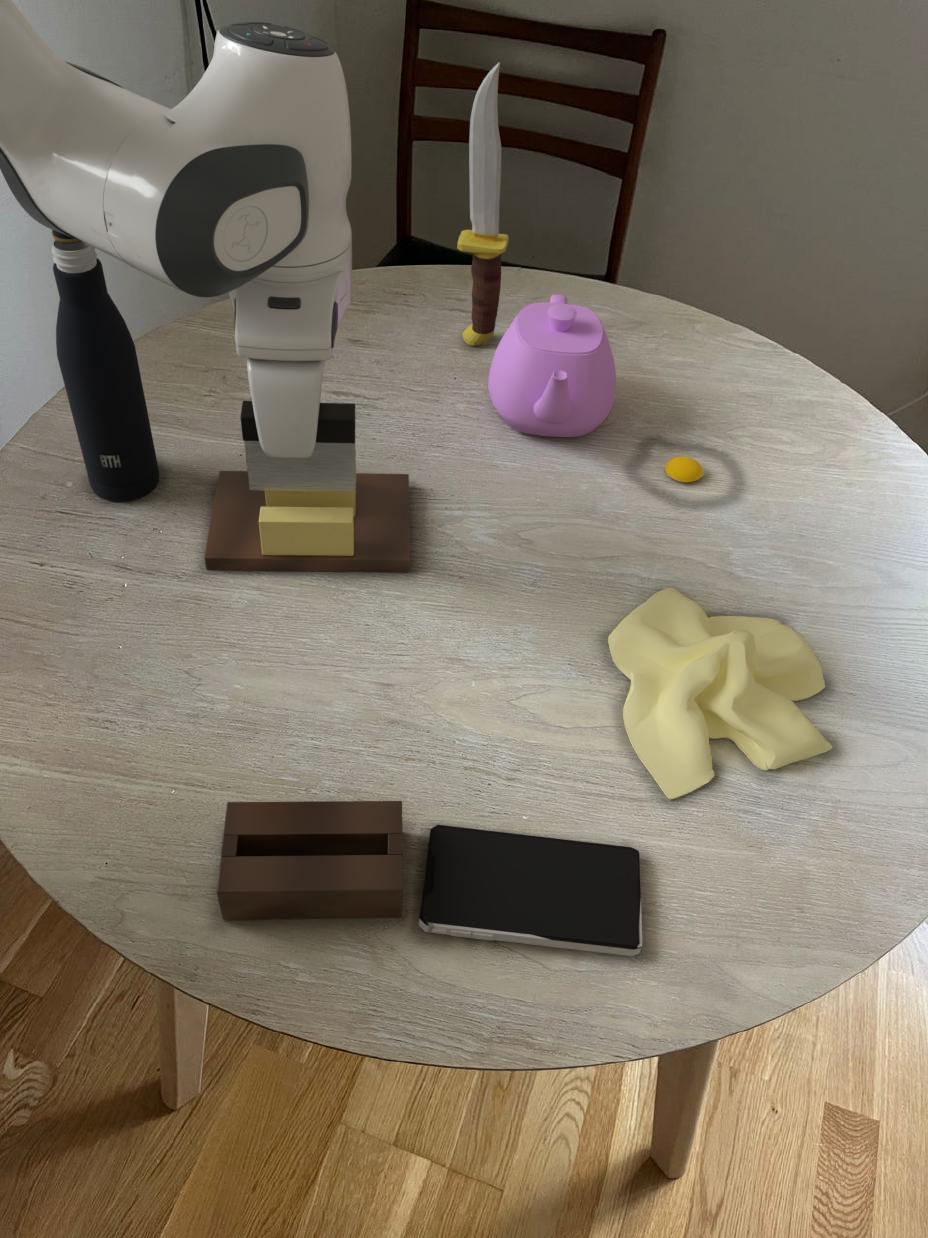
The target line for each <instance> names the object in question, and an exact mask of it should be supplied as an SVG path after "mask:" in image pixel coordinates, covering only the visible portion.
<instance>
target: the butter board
mask: <svg viewBox="0 0 928 1238" xmlns="http://www.w3.org/2000/svg"><path fill="white" fill-rule="evenodd" d="M216 483H217V484H216V489H215V495H214V500H213V506H212V512H211V516H210V517H211V518H210V524H209V530H208V534H207V535H208V536H207V540H206V541H207V542H206V546H205V553H204V564H205V570H206V571H263V572H264V571H269V572H271V571H272V572H273V571H275V572H277V571H278V572H280V571H281V572H283V571H284V572H355V573H356V572H359V573H360V572H361V573H362V572H364V573H365V572H366V573H367V572H368V573H369V572H370V573H371V572H372V573H373V572H374V573H410V572H411V521H410V520H411V518H410V475H409V473H376V472H375V473H373V472H372V473H369V472H368V473H367V472H356V508H355V517H354V555H353V556H308V555H263V554H262V546H261V537H260V528H259V516H260V508H261V507H266V497H265V491H260V490H249V480H248V470H219V472H218V478H217V482H216Z"/></svg>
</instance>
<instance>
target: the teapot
mask: <svg viewBox="0 0 928 1238" xmlns="http://www.w3.org/2000/svg"><path fill="white" fill-rule="evenodd" d="M489 367H490V368H489V373H488V379H487V386H488V387H487V389H488V394H489V397H490V401H491V403H492V406H493V407H494V409H495V411H496V413H497V414H498V416H499V417H500V419H501V420H502V421H503V422H504V423H505V424H506V425H507V426H508V427H509V428H511V429H512V430H515V431H517V432H521V433H524V434H529V435H536V436H540V437H541V436H542V437H550V438H551V437H552V438H577V437H582V436H583V437H584V436H585V435H587V434H589V433H591V432H593V431H594V430H595V429H596V428H598V427H599V426H600V425H601V424H602V423H603V422H604V421H605V420H606V418H607V417H608V415H609V413H610V411H611V410H612V407H613V405H614V401H615V396H616V379H617V377H616V367H615V359H614V356H613V351H612V348H611V345H610V341H609V338H608V336H607V332H606V330H605V327H604V325H603V323H602V321H601V319H600V317H599V316H598V314H597V313H595V312H594V311H593V310H592V309H589V308H588V307H584V306H581V305H575V304H568V297H567V296H566V295H563V294H552V295H551V296H550V297H549V302H532V303H530V304H528V305H525V306H524V307H523V308H522V309H521V310H520V311H519V312H518V313H517V315H516V316H515V317H514V319H513V320H512V322H511V324H510V325H509V326H508V328H507V329H506V331H505V333H504V334H503V336H502V338H501V339H500V341H499V343H498V345H497V347H496V350H495V352H494V354H493V358H492V360H491V364H490V366H489Z"/></svg>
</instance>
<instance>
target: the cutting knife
mask: <svg viewBox="0 0 928 1238" xmlns="http://www.w3.org/2000/svg"><path fill="white" fill-rule="evenodd" d="M240 411H241V412H240V417H239V418H240V427H241V435H242V441H243V442H244V449H245V451H244V452H245V460H246V469H247V470H246V471H248V480H249V490H260V491H309V492H355V491H356V478H355V449H356V403H344V402H343V403H342V402H341V403H340V402H339V403H337V402H320V407H319V417H318V427H317V436H316V443H315V448H314V451H313V454H312V455H311V456H310V457H306V458H284V457H270V456H268V455H266V454H265V452H264V451H263V449H262V447H261V445H260V441H259V437H258V432H257V427H256V421H255V416H254V410H253V404H252V400H242V403H241V410H240Z"/></svg>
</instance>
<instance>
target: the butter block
mask: <svg viewBox="0 0 928 1238" xmlns="http://www.w3.org/2000/svg"><path fill="white" fill-rule="evenodd" d="M356 473H357V449H356V448H355V478H356ZM265 497H266V507H338V508H353V511H354V517H355V508H356V491H355V492H309V491H265Z"/></svg>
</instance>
